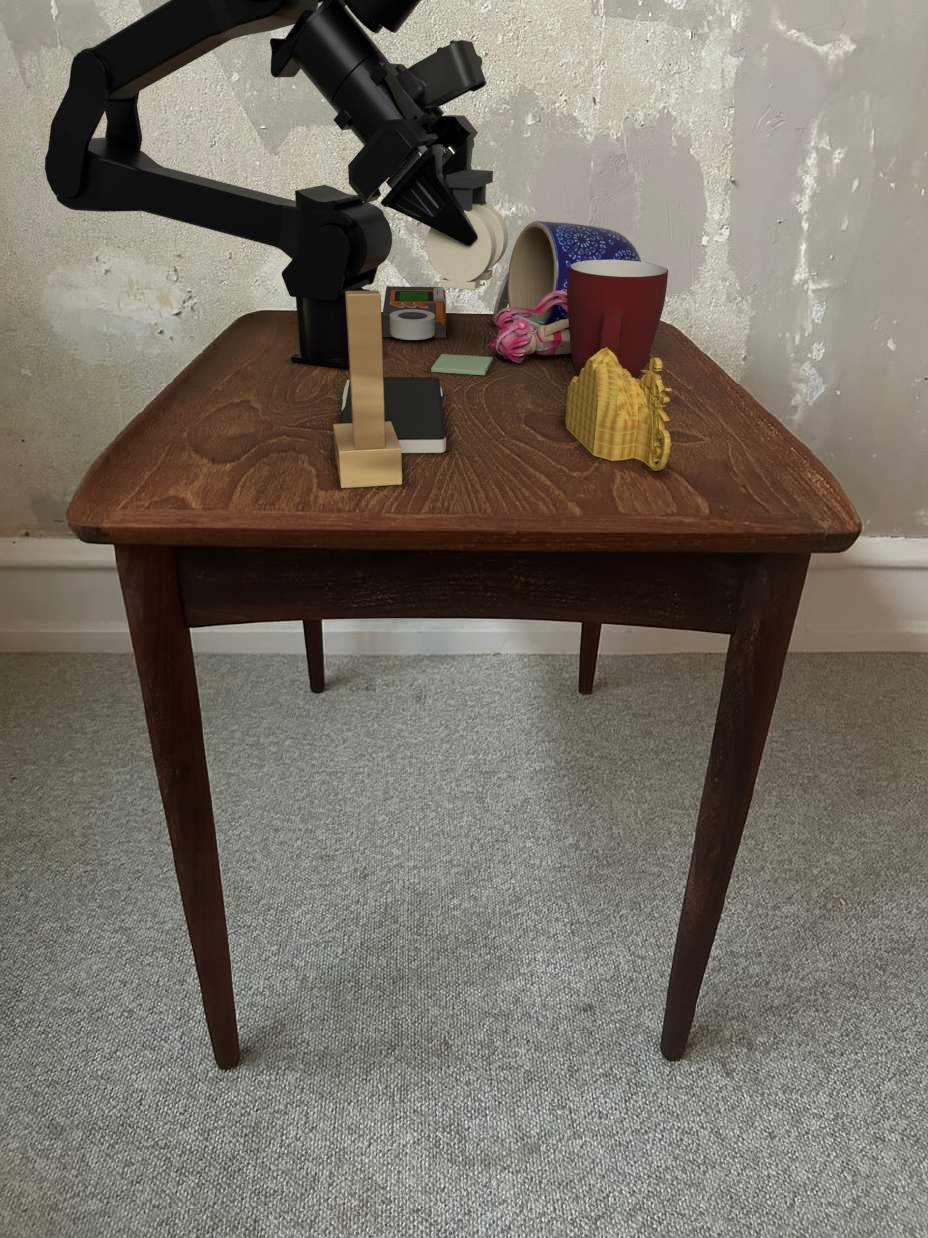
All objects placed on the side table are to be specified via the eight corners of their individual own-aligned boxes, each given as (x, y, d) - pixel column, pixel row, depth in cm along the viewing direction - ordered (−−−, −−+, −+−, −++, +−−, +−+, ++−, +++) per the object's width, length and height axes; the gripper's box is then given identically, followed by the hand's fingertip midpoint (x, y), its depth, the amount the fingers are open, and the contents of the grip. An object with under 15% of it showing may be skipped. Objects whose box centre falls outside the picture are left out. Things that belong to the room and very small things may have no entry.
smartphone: (333, 439, 61) (345, 376, 74) (334, 455, 62) (346, 390, 75) (448, 439, 62) (440, 376, 74) (448, 455, 62) (440, 390, 75)
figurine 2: (604, 419, 69) (614, 327, 65) (669, 476, 59) (684, 371, 56) (560, 422, 68) (567, 329, 65) (618, 480, 58) (630, 373, 55)
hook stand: (334, 454, 62) (323, 275, 55) (390, 451, 62) (385, 274, 56) (341, 488, 57) (329, 294, 50) (402, 484, 57) (398, 293, 51)
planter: (635, 357, 91) (540, 355, 86) (588, 316, 98) (498, 313, 94) (668, 248, 84) (566, 240, 80) (614, 214, 92) (519, 205, 87)
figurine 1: (489, 334, 96) (558, 357, 95) (497, 289, 91) (569, 312, 90) (506, 306, 99) (573, 328, 98) (514, 261, 94) (584, 283, 93)
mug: (663, 414, 71) (681, 284, 65) (563, 411, 71) (573, 281, 66) (646, 377, 80) (661, 260, 74) (558, 374, 80) (566, 258, 75)
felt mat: (431, 371, 80) (431, 367, 80) (441, 357, 84) (441, 353, 84) (484, 375, 79) (485, 371, 79) (492, 361, 84) (492, 356, 83)
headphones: (426, 286, 75) (426, 173, 70) (446, 273, 80) (448, 168, 75) (489, 291, 73) (494, 177, 69) (506, 278, 79) (511, 171, 74)
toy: (630, 381, 88) (488, 382, 84) (616, 336, 90) (477, 335, 86) (661, 330, 81) (509, 328, 77) (645, 283, 83) (496, 278, 79)
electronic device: (381, 318, 87) (386, 281, 100) (382, 347, 89) (387, 308, 101) (448, 319, 88) (445, 282, 100) (447, 348, 89) (445, 309, 102)
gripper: (383, -17, 59) (532, 173, 63) (457, 5, 75) (573, 157, 78) (286, 113, 65) (427, 280, 68) (372, 109, 80) (484, 246, 84)
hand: (483, 236), depth 74 cm, fingers closed on headphones, 6 cm apart
